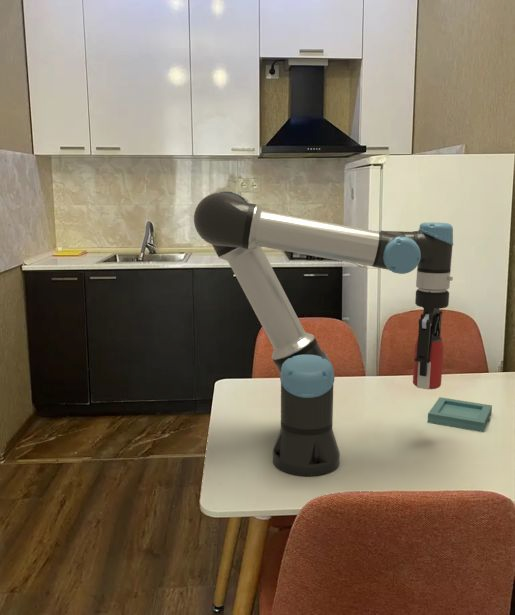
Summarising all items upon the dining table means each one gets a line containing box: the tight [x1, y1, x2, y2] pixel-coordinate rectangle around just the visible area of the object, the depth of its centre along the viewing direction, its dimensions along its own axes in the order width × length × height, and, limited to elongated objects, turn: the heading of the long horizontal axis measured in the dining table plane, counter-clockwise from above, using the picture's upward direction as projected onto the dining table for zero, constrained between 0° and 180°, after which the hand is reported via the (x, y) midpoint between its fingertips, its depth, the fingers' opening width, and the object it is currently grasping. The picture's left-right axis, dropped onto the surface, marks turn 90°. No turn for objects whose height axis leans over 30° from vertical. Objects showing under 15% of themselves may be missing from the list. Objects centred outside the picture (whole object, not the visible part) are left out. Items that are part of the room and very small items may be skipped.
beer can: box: [412, 336, 445, 390], centre depth 145 cm, size 7×7×12 cm
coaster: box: [427, 396, 493, 433], centre depth 163 cm, size 14×14×2 cm
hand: (426, 383), depth 146 cm, fingers closed on beer can, 7 cm apart
